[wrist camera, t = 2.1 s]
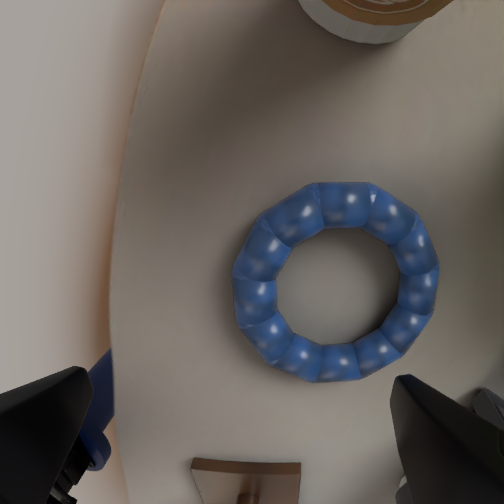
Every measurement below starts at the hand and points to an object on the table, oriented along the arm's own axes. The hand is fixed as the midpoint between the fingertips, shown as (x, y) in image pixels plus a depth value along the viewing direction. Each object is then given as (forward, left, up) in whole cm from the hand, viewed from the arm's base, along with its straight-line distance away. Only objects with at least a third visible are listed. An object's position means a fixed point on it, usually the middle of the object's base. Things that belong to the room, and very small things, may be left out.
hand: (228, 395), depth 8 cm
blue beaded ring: (+4, 0, -7) cm, 8 cm away
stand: (-1, -18, -8) cm, 20 cm away
